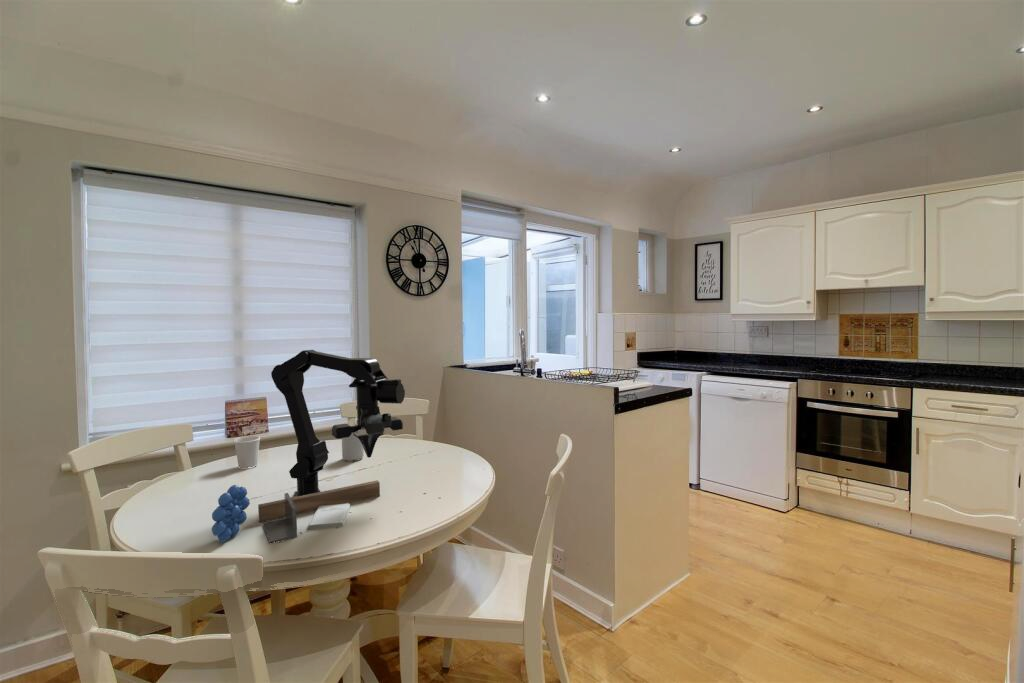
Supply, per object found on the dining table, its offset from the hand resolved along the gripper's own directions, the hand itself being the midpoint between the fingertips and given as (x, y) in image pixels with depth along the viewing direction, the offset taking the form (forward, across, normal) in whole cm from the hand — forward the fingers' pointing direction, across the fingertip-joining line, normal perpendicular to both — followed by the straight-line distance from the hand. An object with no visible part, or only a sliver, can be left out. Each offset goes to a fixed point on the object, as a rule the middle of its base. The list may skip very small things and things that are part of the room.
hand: (369, 457), depth 134 cm
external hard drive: (+13, -12, -7) cm, 19 cm away
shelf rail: (+12, -12, +2) cm, 17 cm away
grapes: (+12, -35, -4) cm, 37 cm away
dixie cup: (+12, -26, +56) cm, 63 cm away
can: (+12, +7, +43) cm, 45 cm away
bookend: (+12, -25, -8) cm, 28 cm away
